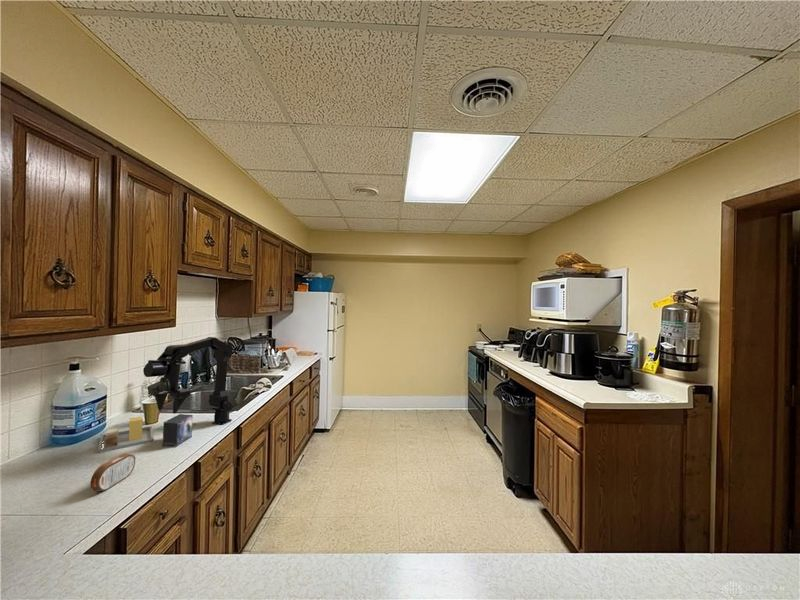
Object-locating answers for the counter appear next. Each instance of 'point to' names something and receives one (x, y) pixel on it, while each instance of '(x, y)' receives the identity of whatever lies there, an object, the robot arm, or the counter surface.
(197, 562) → the counter surface
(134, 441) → the tray
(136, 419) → the mustard box
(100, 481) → the tin
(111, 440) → the walnut block
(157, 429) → the mat
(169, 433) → the small box
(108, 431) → the off-white block
